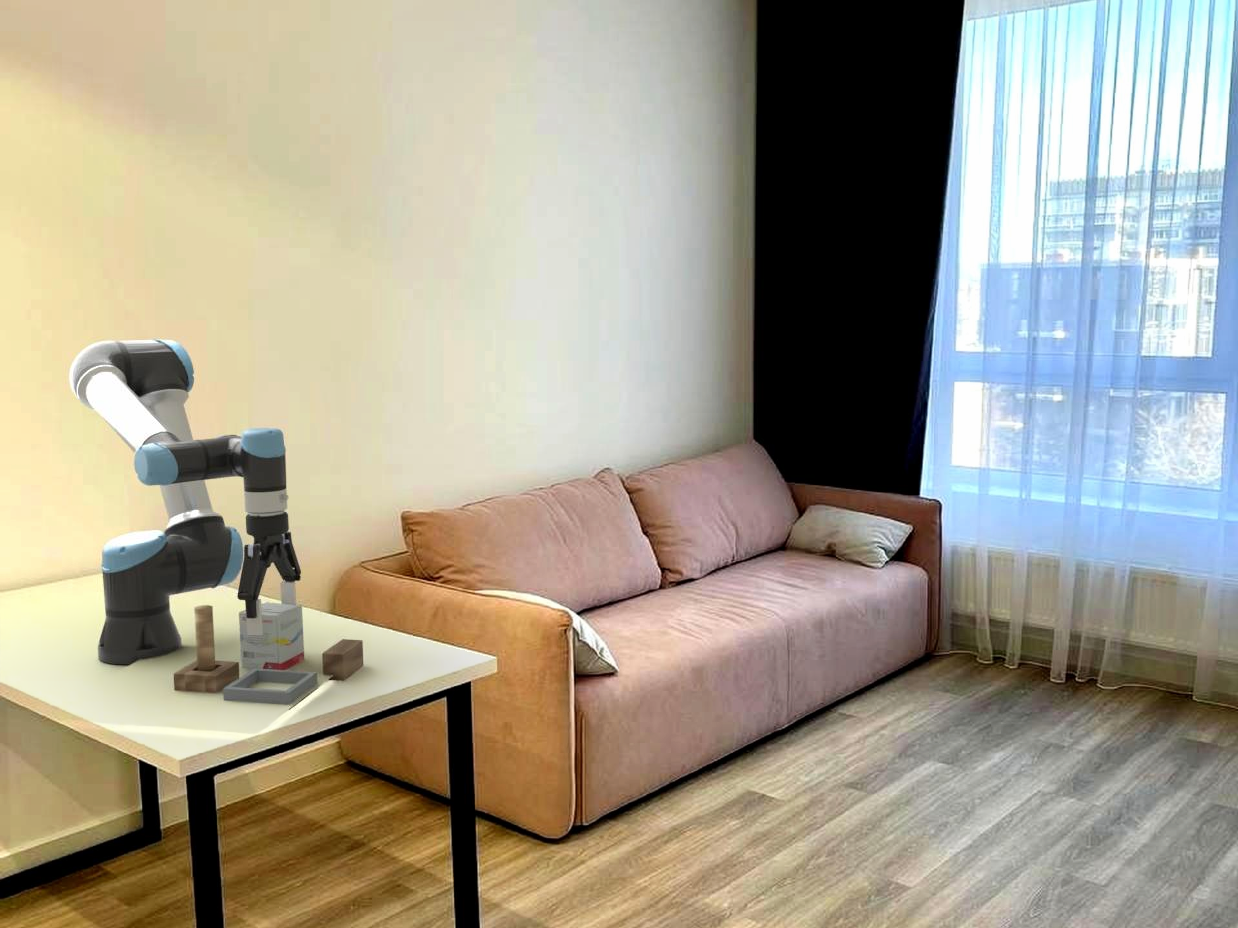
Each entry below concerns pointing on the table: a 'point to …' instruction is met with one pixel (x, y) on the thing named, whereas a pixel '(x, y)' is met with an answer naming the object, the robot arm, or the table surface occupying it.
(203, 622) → the dowel
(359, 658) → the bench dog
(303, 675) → the tray
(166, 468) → the robot arm
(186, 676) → the socket block
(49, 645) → the table surface
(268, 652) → the ink box
